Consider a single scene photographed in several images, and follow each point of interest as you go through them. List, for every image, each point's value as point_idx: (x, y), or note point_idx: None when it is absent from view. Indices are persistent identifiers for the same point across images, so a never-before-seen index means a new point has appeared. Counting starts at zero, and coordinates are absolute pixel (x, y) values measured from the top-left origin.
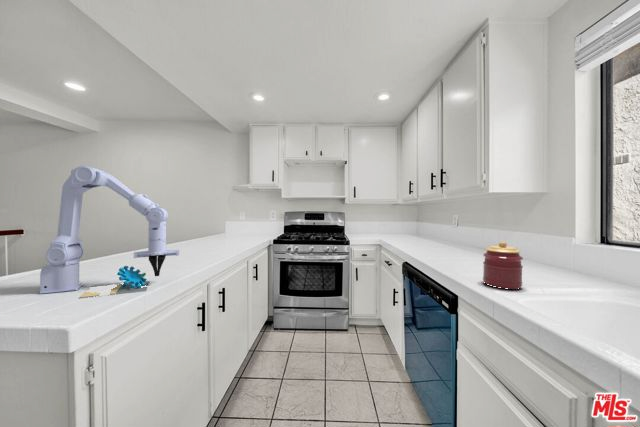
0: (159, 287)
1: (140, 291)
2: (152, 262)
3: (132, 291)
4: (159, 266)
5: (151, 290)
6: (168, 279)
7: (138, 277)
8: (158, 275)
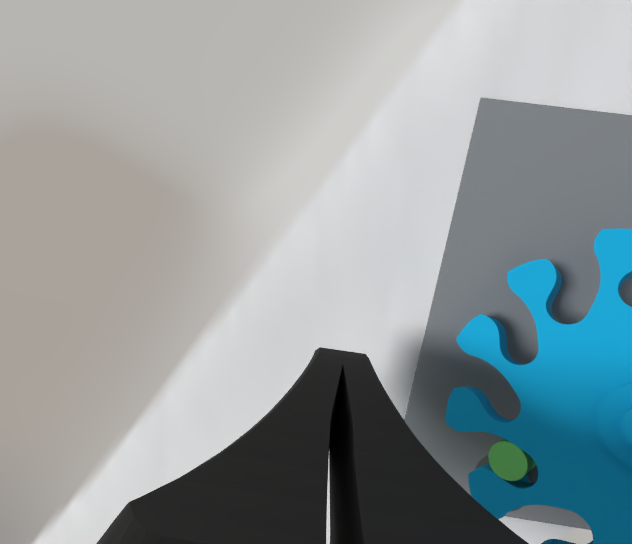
0: (329, 189)
1: (541, 106)
2: (454, 516)
3: (615, 162)
4: (294, 423)
5: (423, 94)
6: None
7: (555, 420)
8: (323, 348)
